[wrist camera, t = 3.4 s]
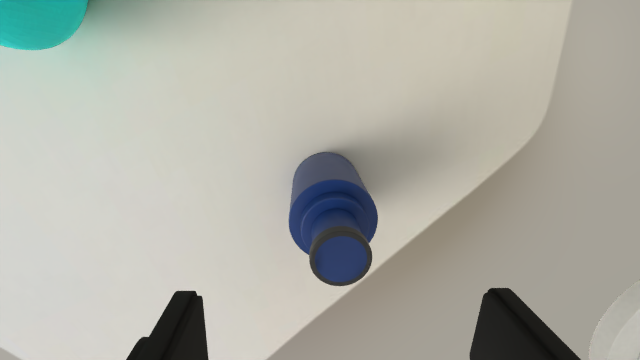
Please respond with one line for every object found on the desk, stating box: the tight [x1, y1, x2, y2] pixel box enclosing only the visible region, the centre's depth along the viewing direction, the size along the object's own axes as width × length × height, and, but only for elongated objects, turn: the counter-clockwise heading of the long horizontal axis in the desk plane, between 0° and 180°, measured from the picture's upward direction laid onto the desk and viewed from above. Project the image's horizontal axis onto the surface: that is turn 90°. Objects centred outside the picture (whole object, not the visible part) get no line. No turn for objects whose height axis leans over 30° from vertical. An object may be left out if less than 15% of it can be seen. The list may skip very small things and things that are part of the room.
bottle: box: [289, 152, 378, 286], centre depth 20 cm, size 5×5×11 cm
